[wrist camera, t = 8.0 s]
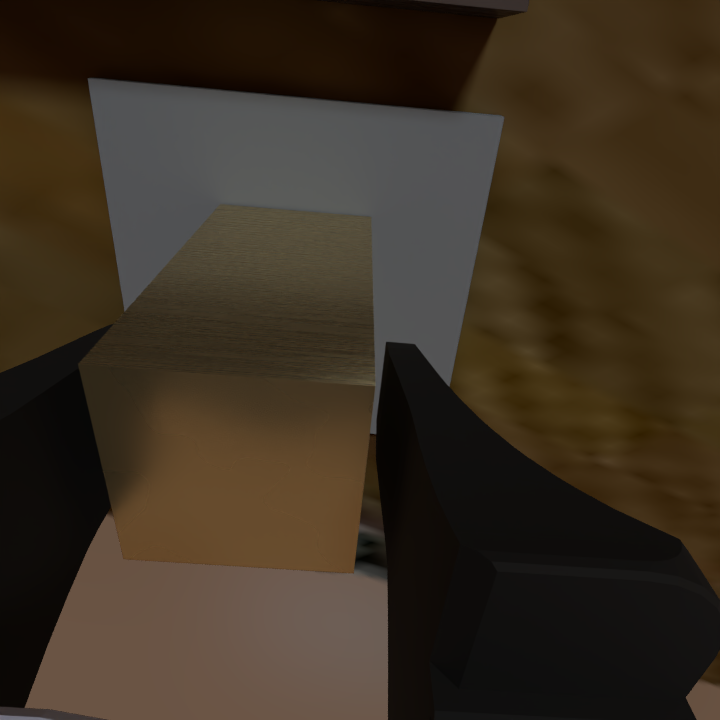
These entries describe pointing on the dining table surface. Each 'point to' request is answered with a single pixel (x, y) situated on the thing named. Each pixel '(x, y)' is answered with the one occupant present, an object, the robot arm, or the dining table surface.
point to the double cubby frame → (452, 6)
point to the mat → (305, 189)
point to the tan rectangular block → (242, 395)
